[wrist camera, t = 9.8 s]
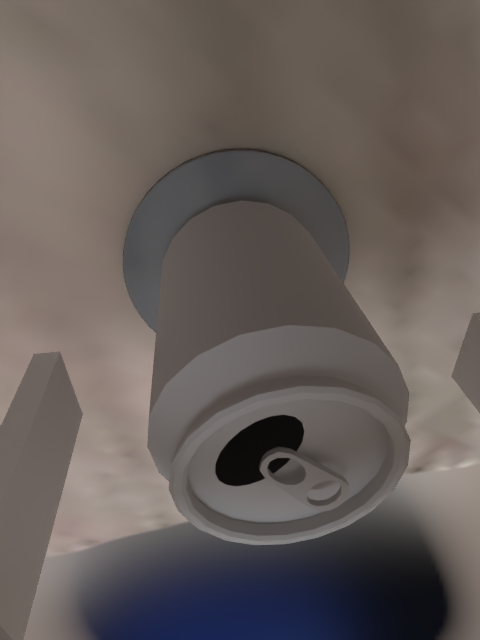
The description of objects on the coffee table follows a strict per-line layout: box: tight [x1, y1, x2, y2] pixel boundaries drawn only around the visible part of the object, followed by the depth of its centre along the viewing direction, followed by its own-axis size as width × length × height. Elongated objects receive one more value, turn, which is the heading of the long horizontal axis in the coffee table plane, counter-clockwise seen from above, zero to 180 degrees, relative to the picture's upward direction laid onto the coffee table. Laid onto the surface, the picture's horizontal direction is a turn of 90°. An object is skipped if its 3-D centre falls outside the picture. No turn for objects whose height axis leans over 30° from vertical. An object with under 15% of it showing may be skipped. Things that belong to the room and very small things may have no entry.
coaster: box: [123, 149, 349, 332], centre depth 21 cm, size 11×11×1 cm
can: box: [148, 200, 411, 545], centre depth 16 cm, size 8×8×12 cm
